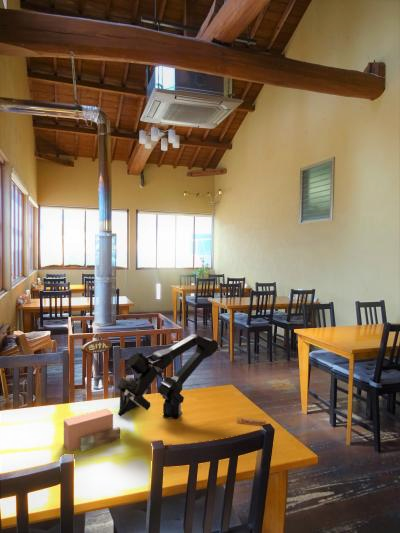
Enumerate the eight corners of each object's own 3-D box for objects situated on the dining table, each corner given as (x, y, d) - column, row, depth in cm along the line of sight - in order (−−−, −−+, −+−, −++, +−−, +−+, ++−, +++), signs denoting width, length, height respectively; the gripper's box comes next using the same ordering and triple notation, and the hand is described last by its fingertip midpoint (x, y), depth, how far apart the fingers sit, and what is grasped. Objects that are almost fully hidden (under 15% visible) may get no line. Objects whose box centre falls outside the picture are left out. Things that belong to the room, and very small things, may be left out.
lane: (107, 426, 142) (107, 416, 142) (120, 439, 133) (120, 428, 133) (71, 437, 134) (71, 426, 134) (81, 451, 125) (81, 439, 124)
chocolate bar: (236, 421, 149) (236, 415, 149) (266, 424, 147) (266, 418, 147) (236, 424, 147) (236, 418, 147) (266, 427, 145) (266, 421, 144)
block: (107, 431, 139) (107, 408, 138) (112, 437, 134) (113, 413, 134) (63, 444, 129) (63, 419, 129) (68, 451, 125) (68, 425, 124)
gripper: (121, 362, 148) (95, 396, 142) (142, 376, 133) (114, 413, 127) (138, 377, 153) (114, 410, 147) (161, 392, 138) (135, 429, 132)
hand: (119, 415), depth 138 cm, fingers closed
